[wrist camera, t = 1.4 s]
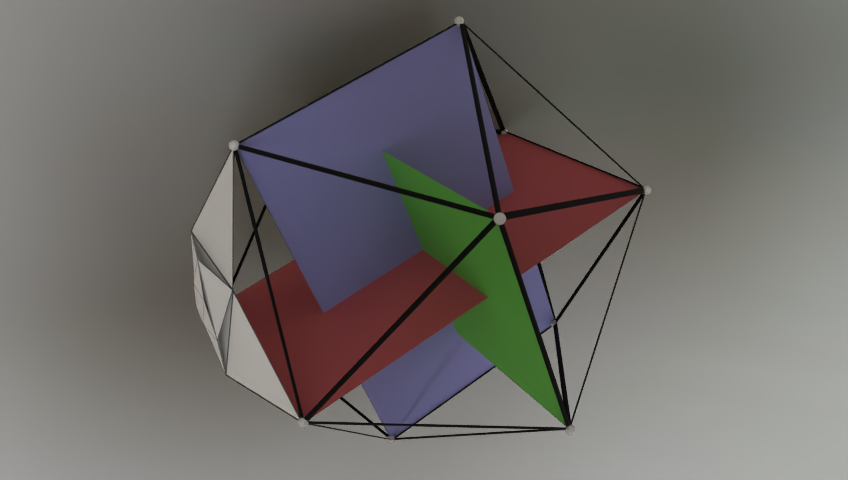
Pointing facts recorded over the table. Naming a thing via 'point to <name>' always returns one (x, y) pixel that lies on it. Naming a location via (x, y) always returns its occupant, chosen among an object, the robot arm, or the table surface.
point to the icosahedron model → (399, 246)
